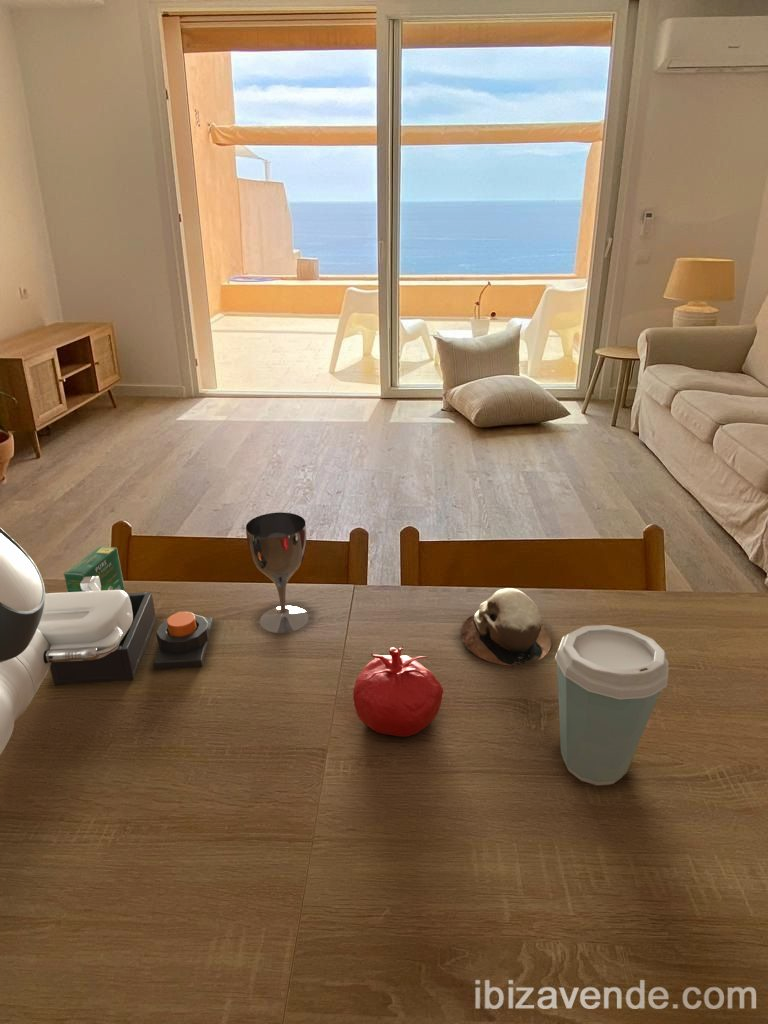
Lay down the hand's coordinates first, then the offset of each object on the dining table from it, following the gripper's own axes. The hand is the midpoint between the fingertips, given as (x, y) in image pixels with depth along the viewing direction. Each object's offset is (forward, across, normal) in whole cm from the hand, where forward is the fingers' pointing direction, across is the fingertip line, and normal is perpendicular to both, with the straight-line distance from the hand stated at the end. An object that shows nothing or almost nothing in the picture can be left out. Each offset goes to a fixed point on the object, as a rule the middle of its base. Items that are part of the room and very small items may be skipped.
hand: (48, 584), depth 74 cm
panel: (+12, -10, +17) cm, 23 cm away
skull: (+9, -53, +17) cm, 57 cm away
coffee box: (+12, 0, +17) cm, 21 cm away
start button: (+12, -10, +15) cm, 21 cm away
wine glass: (+17, -23, +17) cm, 34 cm away
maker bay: (+12, 0, +17) cm, 21 cm away
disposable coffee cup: (-14, -57, +17) cm, 61 cm away
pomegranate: (-5, -37, +17) cm, 41 cm away
